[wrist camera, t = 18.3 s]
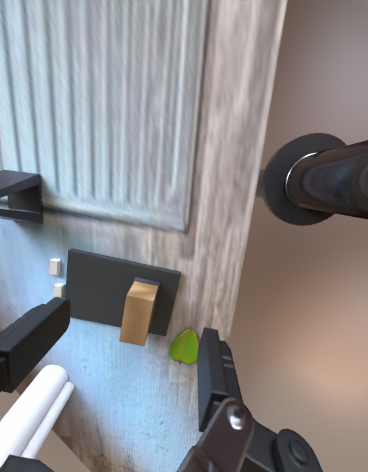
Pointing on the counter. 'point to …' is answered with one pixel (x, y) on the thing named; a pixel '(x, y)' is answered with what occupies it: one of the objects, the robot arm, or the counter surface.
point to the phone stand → (21, 196)
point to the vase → (34, 414)
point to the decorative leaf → (185, 347)
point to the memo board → (115, 288)
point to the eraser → (139, 311)
